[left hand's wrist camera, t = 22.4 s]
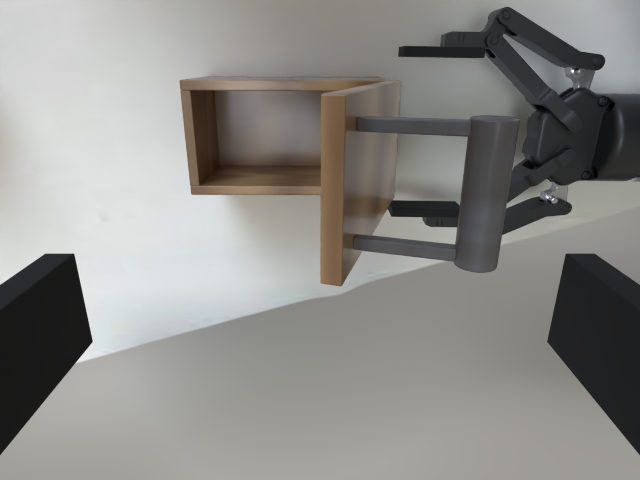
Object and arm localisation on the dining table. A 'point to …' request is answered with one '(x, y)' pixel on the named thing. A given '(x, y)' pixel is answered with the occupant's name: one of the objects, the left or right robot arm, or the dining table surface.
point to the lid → (379, 180)
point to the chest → (257, 133)
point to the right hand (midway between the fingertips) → (394, 134)
